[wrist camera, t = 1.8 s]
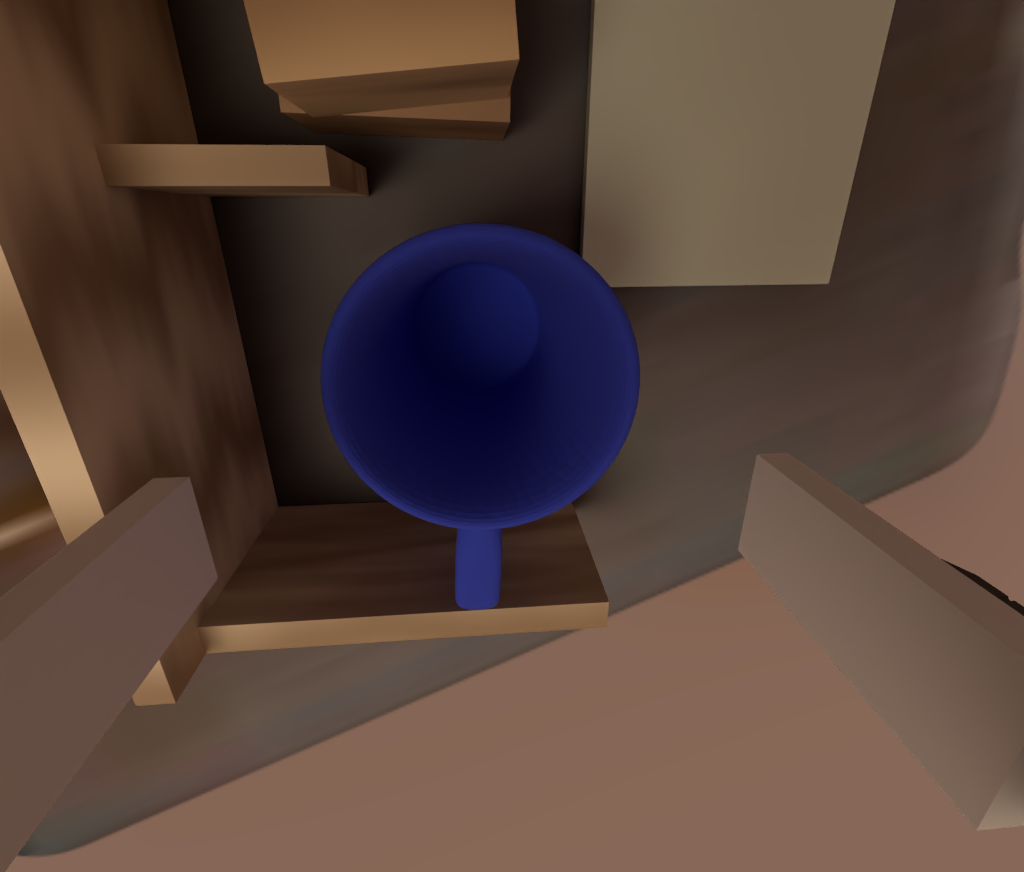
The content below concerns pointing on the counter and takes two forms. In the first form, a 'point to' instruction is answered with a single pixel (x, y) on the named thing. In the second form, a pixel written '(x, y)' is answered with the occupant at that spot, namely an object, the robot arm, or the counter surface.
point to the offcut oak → (384, 52)
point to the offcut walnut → (415, 120)
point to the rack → (198, 357)
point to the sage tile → (724, 137)
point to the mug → (480, 384)
